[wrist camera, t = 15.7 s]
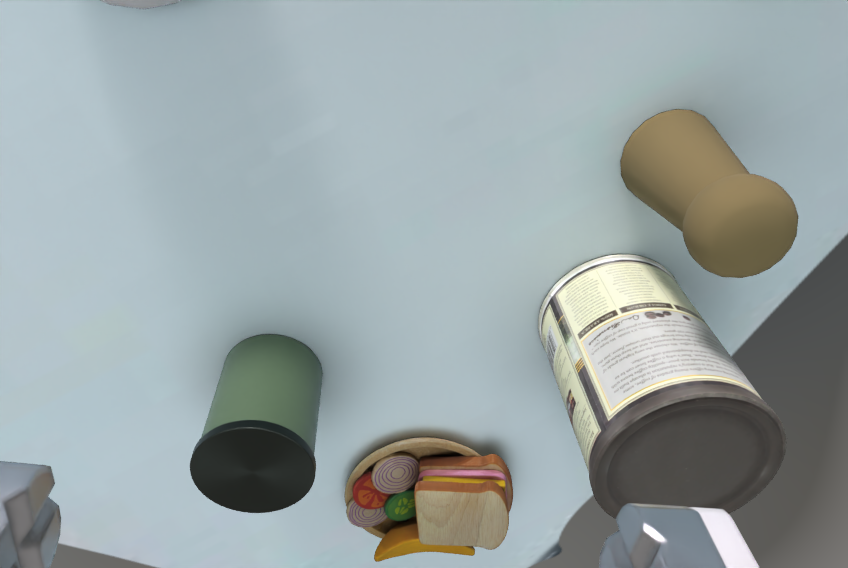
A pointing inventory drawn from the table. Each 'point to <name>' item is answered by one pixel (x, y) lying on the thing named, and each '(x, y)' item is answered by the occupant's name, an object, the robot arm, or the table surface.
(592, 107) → the table surface
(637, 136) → the cork
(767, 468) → the coffee can
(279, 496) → the olive tin
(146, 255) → the table surface
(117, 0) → the donut
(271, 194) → the table surface
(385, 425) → the table surface
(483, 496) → the toy sandwich meal
